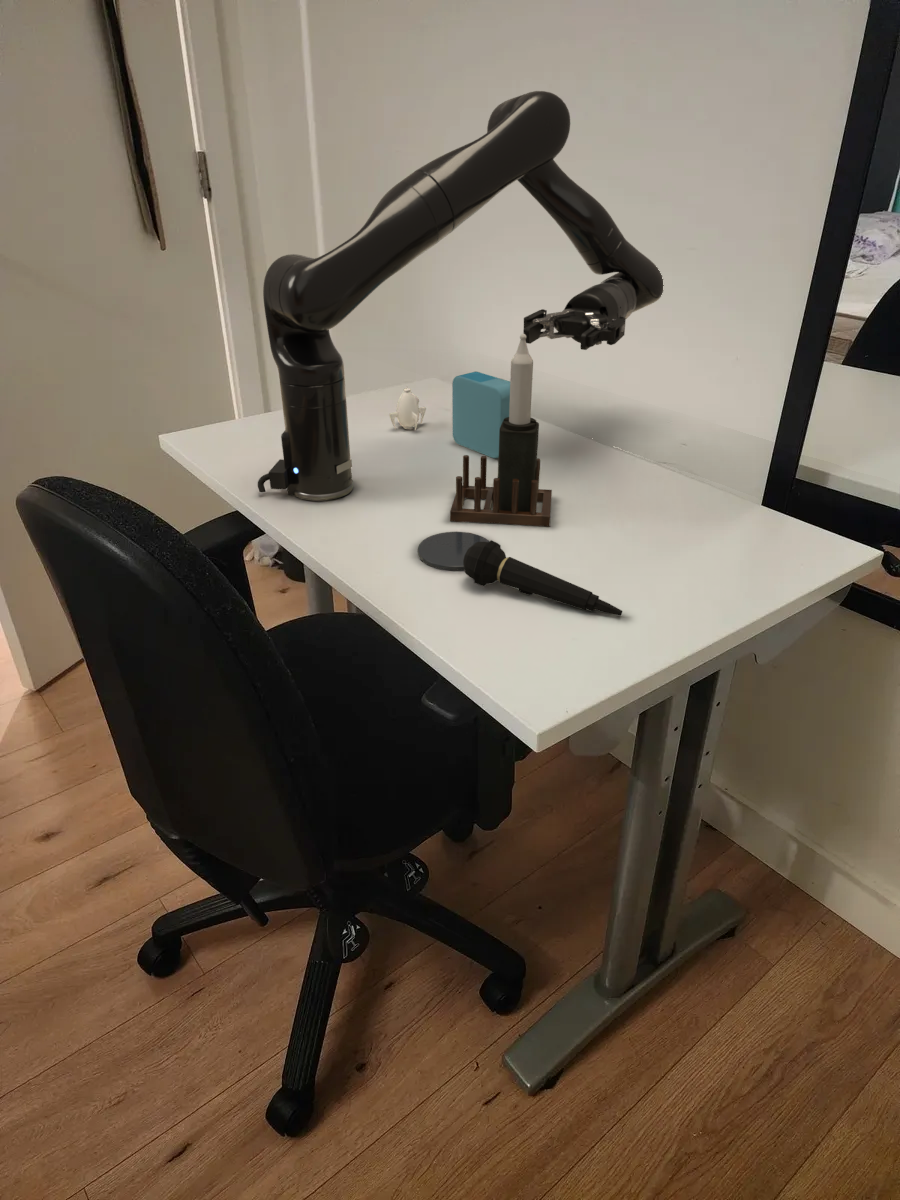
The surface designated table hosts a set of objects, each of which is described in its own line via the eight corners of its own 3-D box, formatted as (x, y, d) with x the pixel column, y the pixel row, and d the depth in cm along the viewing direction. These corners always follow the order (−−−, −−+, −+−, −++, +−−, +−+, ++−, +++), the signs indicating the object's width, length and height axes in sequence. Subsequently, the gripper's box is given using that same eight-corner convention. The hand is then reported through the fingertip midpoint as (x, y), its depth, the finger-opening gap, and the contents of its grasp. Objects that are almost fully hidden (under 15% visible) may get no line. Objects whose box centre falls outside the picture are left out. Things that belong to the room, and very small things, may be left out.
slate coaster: (411, 568, 101) (411, 564, 101) (424, 533, 110) (424, 529, 110) (490, 573, 100) (490, 568, 100) (496, 537, 109) (497, 533, 108)
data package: (518, 454, 136) (521, 384, 129) (499, 461, 133) (501, 389, 127) (470, 436, 143) (471, 369, 137) (451, 442, 141) (451, 374, 135)
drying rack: (450, 521, 113) (450, 478, 110) (458, 494, 121) (458, 454, 118) (549, 526, 112) (552, 483, 108) (551, 499, 120) (554, 458, 116)
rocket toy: (426, 424, 149) (425, 382, 145) (418, 433, 145) (417, 390, 141) (398, 422, 150) (397, 379, 146) (389, 431, 146) (388, 388, 142)
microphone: (619, 631, 94) (469, 574, 101) (634, 585, 92) (480, 531, 99) (607, 641, 89) (451, 581, 96) (624, 594, 88) (463, 536, 94)
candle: (531, 519, 114) (540, 339, 101) (495, 516, 114) (500, 337, 102) (535, 505, 118) (545, 330, 105) (501, 502, 119) (506, 328, 106)
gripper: (554, 283, 125) (509, 307, 113) (643, 290, 119) (604, 316, 107) (553, 332, 129) (508, 360, 117) (638, 341, 123) (601, 371, 111)
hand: (554, 339), depth 112 cm, fingers open, 8 cm apart
